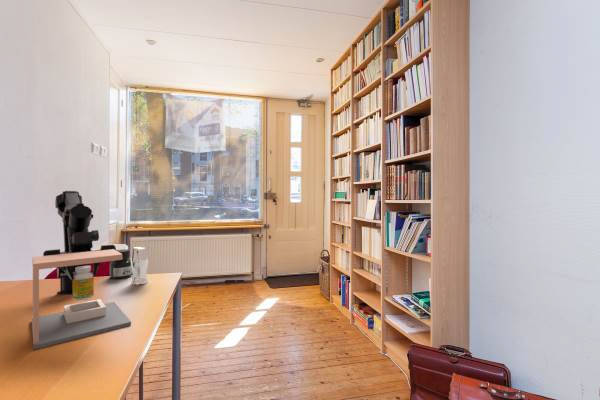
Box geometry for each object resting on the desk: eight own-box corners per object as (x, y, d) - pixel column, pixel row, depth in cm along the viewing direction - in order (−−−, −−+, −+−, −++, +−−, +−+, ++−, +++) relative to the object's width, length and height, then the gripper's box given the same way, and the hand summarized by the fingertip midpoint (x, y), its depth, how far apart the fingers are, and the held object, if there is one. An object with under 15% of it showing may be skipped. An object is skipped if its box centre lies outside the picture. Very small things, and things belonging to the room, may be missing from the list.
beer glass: (152, 281, 131) (152, 247, 131) (139, 286, 124) (139, 249, 124) (140, 280, 133) (140, 246, 133) (126, 284, 126) (126, 248, 126)
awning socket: (31, 321, 89) (31, 251, 88) (114, 304, 103) (114, 244, 103) (33, 349, 72) (33, 264, 72) (131, 325, 87) (131, 254, 86)
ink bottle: (115, 280, 132) (115, 253, 132) (104, 277, 137) (104, 251, 137) (136, 275, 141) (136, 250, 140) (126, 273, 145) (126, 248, 145)
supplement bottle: (76, 302, 90) (76, 269, 90) (69, 298, 94) (69, 267, 93) (96, 297, 95) (96, 266, 95) (89, 293, 98) (89, 264, 98)
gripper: (43, 223, 90) (45, 267, 82) (114, 220, 103) (122, 258, 95) (42, 246, 96) (43, 289, 88) (110, 241, 109) (116, 277, 101)
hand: (83, 277), depth 93 cm, fingers closed on supplement bottle, 5 cm apart
